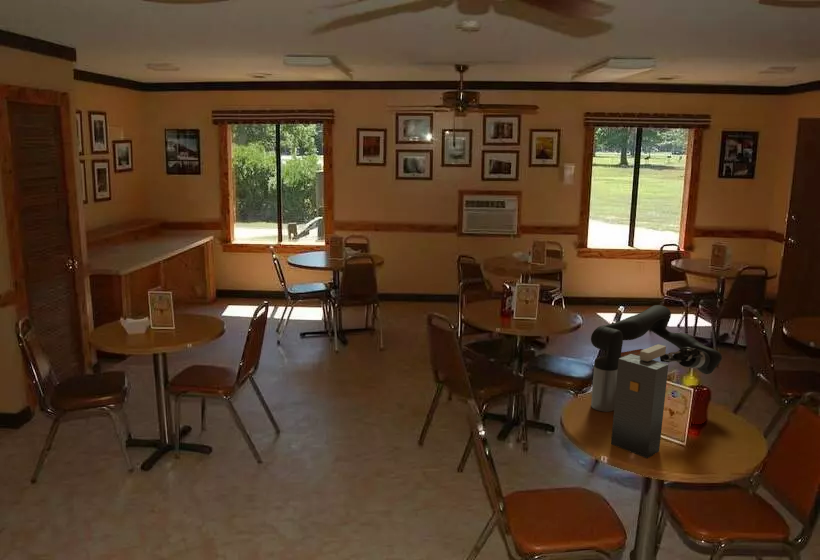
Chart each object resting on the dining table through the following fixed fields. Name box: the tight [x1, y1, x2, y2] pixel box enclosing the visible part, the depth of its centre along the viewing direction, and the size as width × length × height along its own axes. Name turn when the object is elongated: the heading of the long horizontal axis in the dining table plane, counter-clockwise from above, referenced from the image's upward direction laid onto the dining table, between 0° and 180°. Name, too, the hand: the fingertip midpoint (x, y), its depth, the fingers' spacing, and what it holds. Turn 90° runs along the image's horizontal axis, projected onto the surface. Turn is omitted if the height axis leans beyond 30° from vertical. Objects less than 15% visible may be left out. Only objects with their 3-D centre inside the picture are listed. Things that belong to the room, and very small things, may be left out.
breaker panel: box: [610, 354, 669, 459], centre depth 229 cm, size 9×14×32 cm, turn 41°
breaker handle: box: [640, 343, 667, 362], centre depth 230 cm, size 12×3×3 cm, turn 131°
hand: (672, 354), depth 242 cm, fingers open, 8 cm apart
